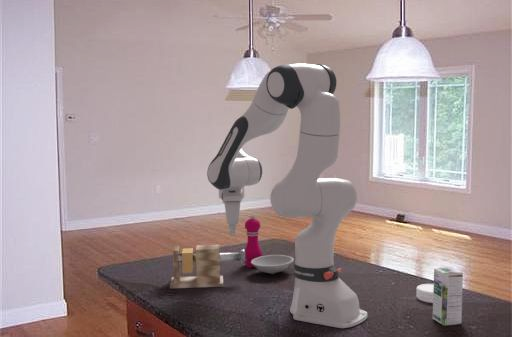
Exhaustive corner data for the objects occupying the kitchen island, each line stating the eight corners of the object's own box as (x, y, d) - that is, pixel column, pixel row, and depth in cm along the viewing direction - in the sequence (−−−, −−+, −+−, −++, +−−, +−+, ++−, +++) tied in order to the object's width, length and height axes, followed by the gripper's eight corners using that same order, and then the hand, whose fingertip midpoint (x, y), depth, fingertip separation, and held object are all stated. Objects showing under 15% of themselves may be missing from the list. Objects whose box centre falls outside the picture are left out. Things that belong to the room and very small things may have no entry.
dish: (273, 282, 187) (273, 268, 187) (242, 275, 196) (242, 262, 196) (302, 271, 201) (302, 258, 200) (272, 265, 210) (272, 252, 209)
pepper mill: (260, 268, 206) (259, 216, 204) (242, 267, 207) (241, 216, 206) (263, 263, 213) (263, 213, 211) (246, 262, 214) (245, 213, 213)
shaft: (244, 261, 190) (244, 247, 190) (245, 264, 186) (245, 251, 185) (173, 263, 189) (173, 250, 188) (172, 267, 184) (172, 253, 183)
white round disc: (435, 306, 161) (435, 294, 161) (409, 297, 170) (409, 286, 170) (456, 300, 167) (457, 289, 166) (431, 292, 175) (431, 281, 175)
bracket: (222, 278, 193) (222, 243, 192) (223, 286, 183) (222, 250, 182) (172, 279, 192) (171, 245, 191) (169, 288, 182) (168, 251, 181)
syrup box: (431, 318, 150) (432, 267, 149) (450, 317, 152) (451, 266, 151) (443, 326, 145) (444, 273, 144) (462, 324, 146) (463, 271, 145)
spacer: (193, 267, 190) (193, 248, 190) (192, 273, 183) (192, 252, 183) (183, 268, 190) (183, 248, 190) (182, 273, 183) (181, 253, 183)
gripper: (221, 188, 196) (222, 226, 197) (222, 197, 176) (223, 238, 177) (239, 188, 196) (239, 225, 198) (242, 196, 176) (242, 238, 177)
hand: (232, 232), depth 187 cm, fingers open, 8 cm apart
